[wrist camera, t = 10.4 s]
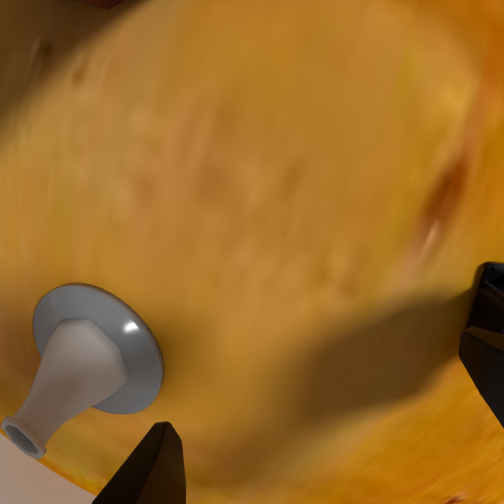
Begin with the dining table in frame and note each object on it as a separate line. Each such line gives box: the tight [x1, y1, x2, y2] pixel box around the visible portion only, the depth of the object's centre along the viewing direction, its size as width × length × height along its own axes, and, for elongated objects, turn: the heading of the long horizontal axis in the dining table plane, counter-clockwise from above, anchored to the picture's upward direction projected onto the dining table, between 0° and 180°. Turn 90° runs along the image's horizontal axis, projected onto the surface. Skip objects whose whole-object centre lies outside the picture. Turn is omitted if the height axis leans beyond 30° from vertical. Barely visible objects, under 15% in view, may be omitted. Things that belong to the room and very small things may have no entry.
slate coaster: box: [33, 283, 164, 414], centre depth 22 cm, size 12×12×1 cm
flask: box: [1, 319, 131, 459], centre depth 17 cm, size 7×7×10 cm
